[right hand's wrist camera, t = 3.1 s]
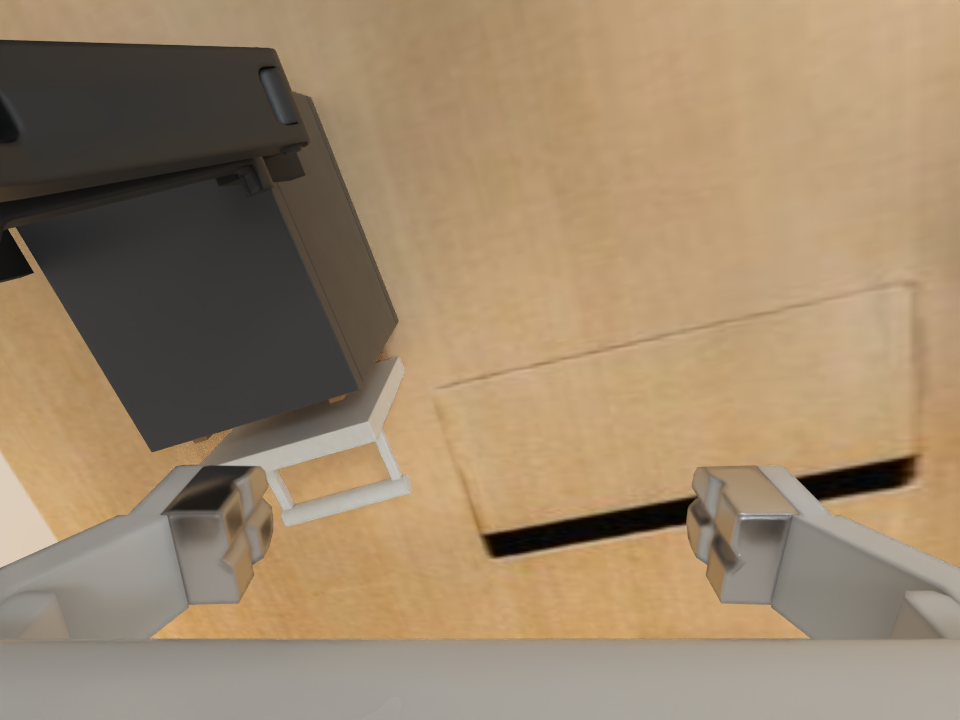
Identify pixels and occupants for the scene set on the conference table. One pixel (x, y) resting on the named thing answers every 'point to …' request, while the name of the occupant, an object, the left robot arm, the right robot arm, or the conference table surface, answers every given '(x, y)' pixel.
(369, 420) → the drawer
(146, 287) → the dark grey cube
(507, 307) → the conference table surface
